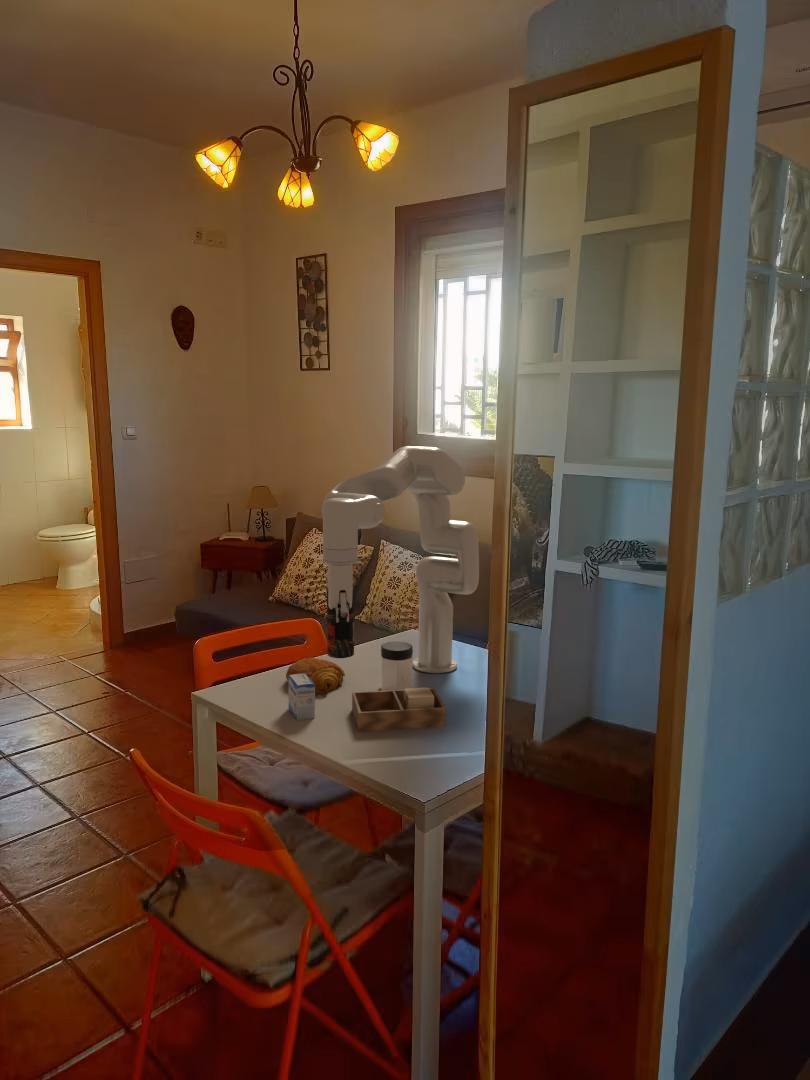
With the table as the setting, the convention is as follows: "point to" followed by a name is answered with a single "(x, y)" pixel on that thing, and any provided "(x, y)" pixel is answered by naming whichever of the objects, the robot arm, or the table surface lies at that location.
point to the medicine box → (301, 696)
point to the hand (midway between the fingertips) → (340, 634)
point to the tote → (394, 712)
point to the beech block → (418, 698)
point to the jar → (396, 666)
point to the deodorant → (334, 646)
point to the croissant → (318, 673)
